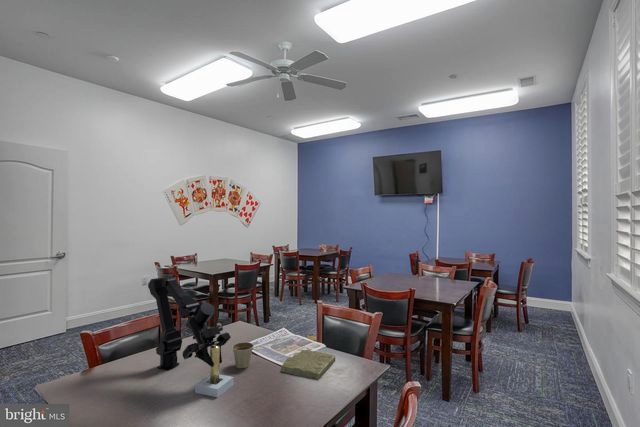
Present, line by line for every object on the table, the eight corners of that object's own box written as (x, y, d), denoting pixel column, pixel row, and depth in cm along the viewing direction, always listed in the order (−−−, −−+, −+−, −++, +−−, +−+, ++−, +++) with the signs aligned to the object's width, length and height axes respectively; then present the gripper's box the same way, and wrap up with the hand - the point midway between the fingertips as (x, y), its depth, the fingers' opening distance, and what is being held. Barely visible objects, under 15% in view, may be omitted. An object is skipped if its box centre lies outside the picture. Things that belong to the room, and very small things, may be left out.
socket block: (195, 392, 127) (195, 384, 127) (212, 380, 137) (212, 372, 137) (217, 397, 124) (217, 389, 124) (233, 384, 133) (233, 377, 133)
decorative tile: (335, 361, 156) (336, 353, 156) (319, 381, 138) (319, 372, 138) (299, 355, 164) (299, 347, 164) (278, 372, 145) (278, 364, 145)
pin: (208, 385, 129) (209, 348, 129) (211, 381, 132) (212, 345, 132) (217, 385, 129) (217, 348, 129) (220, 381, 132) (220, 345, 132)
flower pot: (248, 371, 145) (248, 351, 145) (228, 369, 147) (228, 349, 147) (257, 362, 154) (257, 343, 154) (237, 360, 156) (237, 341, 156)
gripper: (187, 323, 125) (205, 361, 119) (228, 312, 140) (246, 345, 134) (174, 340, 130) (191, 378, 123) (215, 327, 145) (232, 360, 138)
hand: (217, 364), depth 130 cm, fingers closed on pin, 3 cm apart
